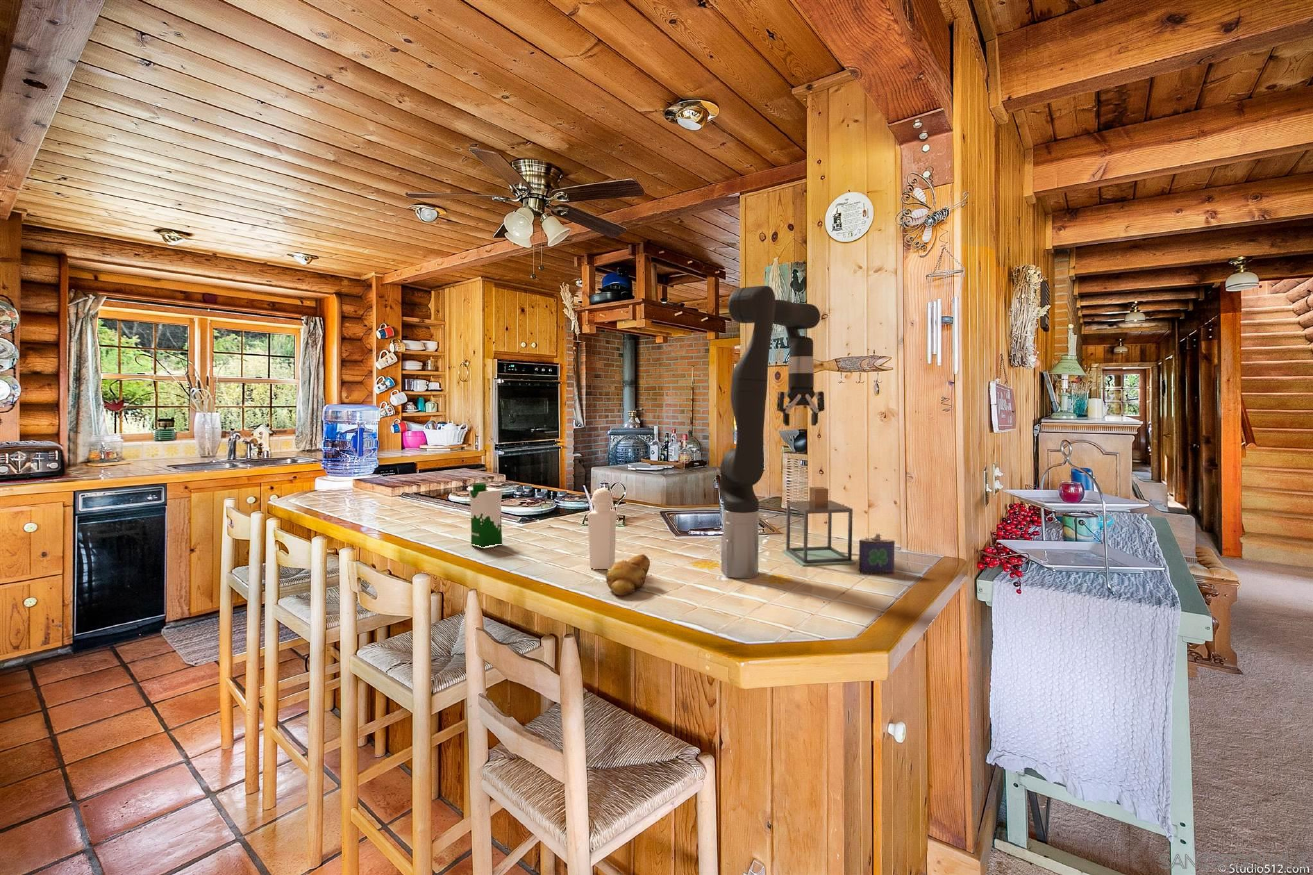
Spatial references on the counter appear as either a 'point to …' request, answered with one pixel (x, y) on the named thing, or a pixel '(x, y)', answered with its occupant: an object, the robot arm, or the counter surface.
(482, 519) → the milk carton
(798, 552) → the mat
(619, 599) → the counter surface
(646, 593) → the counter surface
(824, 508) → the metal frame side table
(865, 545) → the flask
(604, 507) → the beige bottle
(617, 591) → the bread roll
